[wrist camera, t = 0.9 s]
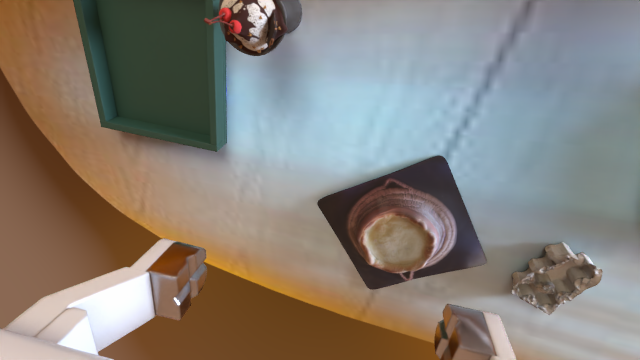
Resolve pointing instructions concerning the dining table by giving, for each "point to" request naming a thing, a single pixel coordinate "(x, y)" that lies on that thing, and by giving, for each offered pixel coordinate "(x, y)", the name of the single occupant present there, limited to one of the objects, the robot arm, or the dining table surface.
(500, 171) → the dining table surface
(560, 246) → the egg carton
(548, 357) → the dining table surface
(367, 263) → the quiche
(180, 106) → the serving tray
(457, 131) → the dining table surface
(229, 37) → the sundae
